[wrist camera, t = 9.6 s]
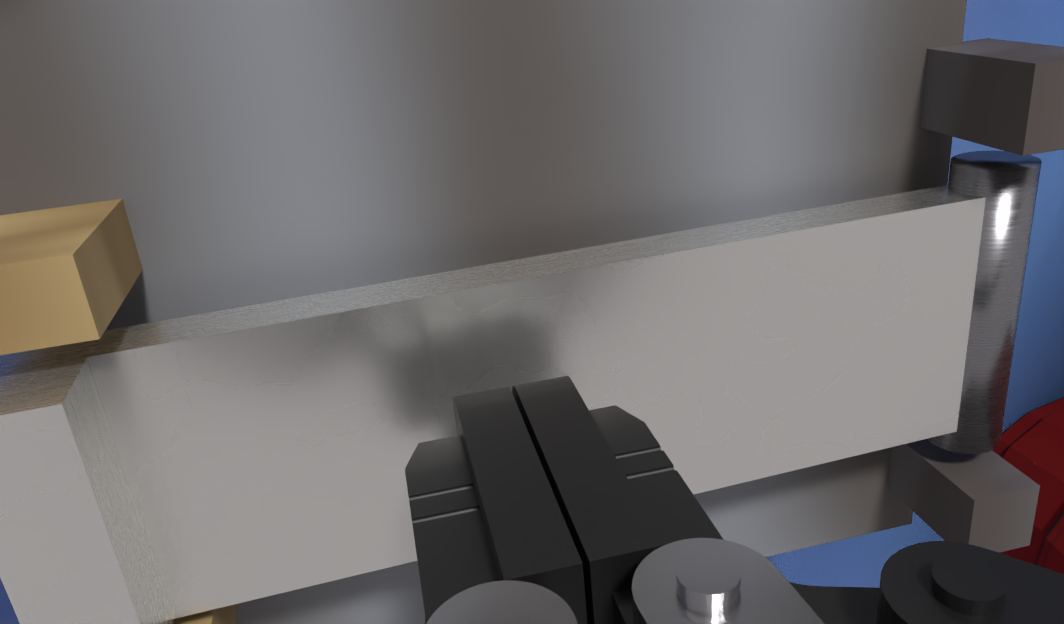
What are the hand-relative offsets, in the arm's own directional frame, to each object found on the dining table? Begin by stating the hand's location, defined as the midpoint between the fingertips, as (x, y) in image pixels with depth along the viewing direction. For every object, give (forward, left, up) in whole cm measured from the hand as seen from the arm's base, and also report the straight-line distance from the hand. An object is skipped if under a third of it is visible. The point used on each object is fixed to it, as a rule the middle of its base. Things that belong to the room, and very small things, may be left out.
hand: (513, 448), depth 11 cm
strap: (-1, 0, -2) cm, 2 cm away
